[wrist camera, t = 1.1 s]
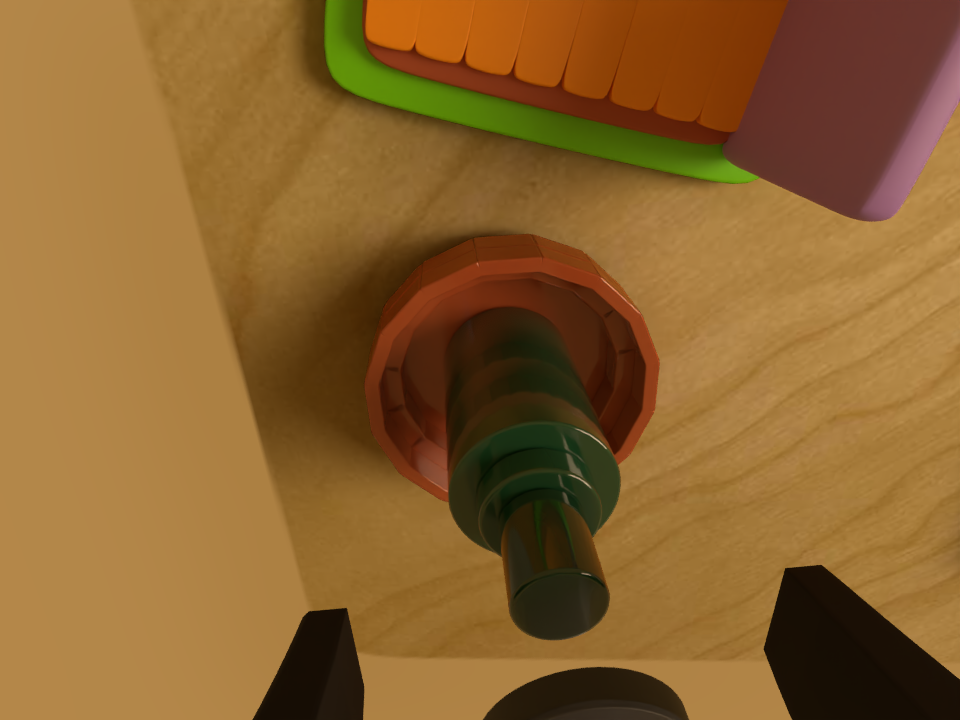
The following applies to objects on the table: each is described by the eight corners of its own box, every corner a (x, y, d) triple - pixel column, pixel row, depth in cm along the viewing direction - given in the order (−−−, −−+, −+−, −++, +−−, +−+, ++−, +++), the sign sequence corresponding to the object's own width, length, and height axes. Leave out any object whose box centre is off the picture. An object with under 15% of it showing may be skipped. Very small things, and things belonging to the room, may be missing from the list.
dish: (624, 450, 21) (646, 499, 19) (390, 469, 21) (385, 521, 19) (641, 219, 18) (671, 247, 15) (356, 239, 17) (345, 270, 15)
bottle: (567, 411, 20) (658, 667, 12) (448, 421, 20) (459, 686, 12) (569, 301, 18) (678, 517, 10) (438, 310, 18) (444, 537, 10)
